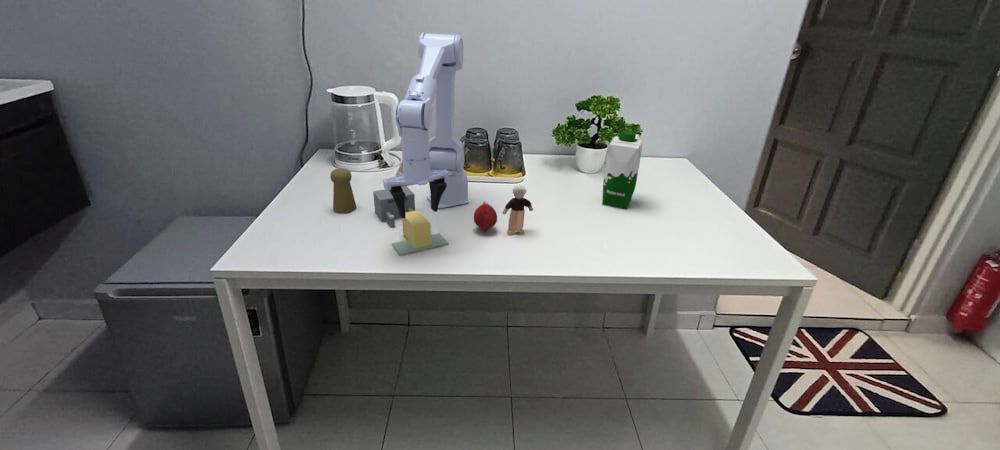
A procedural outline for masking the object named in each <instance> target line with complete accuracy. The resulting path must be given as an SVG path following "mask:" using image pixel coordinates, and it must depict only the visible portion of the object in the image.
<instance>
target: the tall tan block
mask: <svg viewBox="0 0 1000 450" xmlns="http://www.w3.org/2000/svg"><path fill="white" fill-rule="evenodd" d="M405 214H406V215H405V218H401V219H402V233H403V236H404V237H405V238H406V240H409V242H410V243H411V244H412V245H413V247H414V248H419V247H424V246H428V245H431V235H432V231H431V230H432V227H431V225H432V224H431V222H429V221H428V219H427V218H426V217H425V216H424V215H423V214H422V213H421V212H420V211H419V209H415V211H410V212H405Z"/></svg>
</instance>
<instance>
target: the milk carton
mask: <svg viewBox="0 0 1000 450" xmlns="http://www.w3.org/2000/svg"><path fill="white" fill-rule="evenodd" d="M636 135H637V132H635V131H634V130H633V131H632V130H621V131H620V136H616V135H615V136H614V137H613V139H612V140H611V142H610V143H609V146H608V149H607V157H606V161H605V170H604V175H603V183H602V201H601V202H602V204H601V205H602V206H603V205H604V206H607V207H608V206H609V207H614V208H619V209H624V210H627V209H628V207H629V205H630V203H631V200H632V199H633V195H634V192H635V189H636V185H637V181H638V176H639V169H640V164H641V157H642V151H643V140H642V139H637V138H636Z"/></svg>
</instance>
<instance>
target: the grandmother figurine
mask: <svg viewBox="0 0 1000 450" xmlns="http://www.w3.org/2000/svg"><path fill="white" fill-rule="evenodd" d="M526 193H527V189H526V187H525V186H523V185H522V184H516V185H514V186H513V187H512V194H513V196H514V197H512V198H511V199H510V200H509V201H508V202H507V203H506V204H505V206H504V208H503V211H502V214H503V215H506V214H507V213H508V211H509V210H510V209H511V210H510V214H509V218H508V219H509V220H508V225H507V227H508V229H507V231H506V234H507V235H509V236H512V235H515V233H517V234H518V235H520V234H525V230H524V229H523V228H524V223H525V207H526V208H527V209H528V210H529V211H530V212H532V211H533V210H534V208H533V205H532V202H531V201H530V200H528V199H527V198H525V197H524V196H525V195H526Z"/></svg>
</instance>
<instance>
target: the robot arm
mask: <svg viewBox="0 0 1000 450" xmlns="http://www.w3.org/2000/svg"><path fill="white" fill-rule="evenodd" d="M417 50H418V56H419V57H420V60H421V62H420V66H419V71H418V74H414V75H413V76H412V78H411V80H410V82H409V85H408V88H407V91H406V93H405V95H404V99H402V100H401V101H398V102H397V104H396V106H395V110H394V111H395V113H394V115H395V116H394V118H395V123H396V126H397V131H398V136H399V137H400V140H401V141H400V142H401V156H402V171H403V172H402V173H401V174H398V175H395V176H391V177H388V178H383V179H382V180H383V181H382V182H383V188H384V189H385V190H386V191H388V190H389V191H390V193H391V194H392V196H393V198H394V200H395V202H396V205H397V207H398V211H399V215H400V216H401V218H400V219H402V218H405V215H406V214H405V193H404V192H403V189H402V188H401V187H404V186H407V187H410V186H414V185H418V186H424V185H428V184H429V190H430V191H429V192H430V195H428V196H427V197H426V198H427V200H428V201H429V202H430V208H431V210H432V211H433V212H434V213H436V212H437V213H438V210H440V209H445V208H450V207H454V206H455V207H456V206H460V205H465V204H469V203H470V201H469V198H468V197H469V192H468V191H469V181H468V180H469V178H468V175H467V172H466V171H465V169H464V166H465V149H464V148H465V147H464V143H463V142H462V141H461V140H460V139H459V138H457V137H456V136H455V135H454V132H455V131H454V130H455V129H454V124H455V123H454V121H455V118H454V116H455V85H456V84H455V81H456V75H457V74H456V73H457V71H460V70H462V69H463V66H464V40H463V36H461V35H460V34H459V33H458V34H445V33H427V32H421V34H420V35H419V37H418V42H417ZM434 100H435V135H434V136H433V137H431V138H429V136H430V135H429V129H430V127H431V125H432V119H433V118H432V117H433V108H434V107H433V103H434Z"/></svg>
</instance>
